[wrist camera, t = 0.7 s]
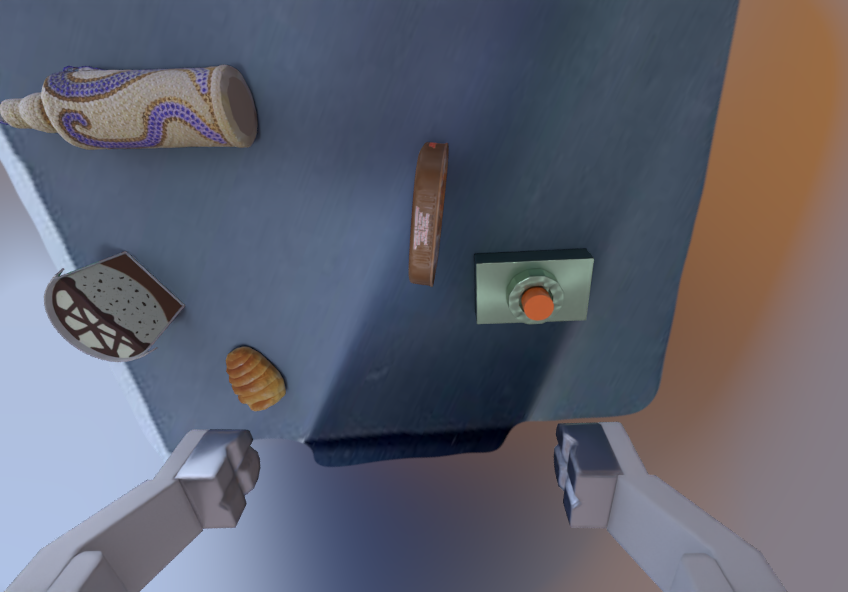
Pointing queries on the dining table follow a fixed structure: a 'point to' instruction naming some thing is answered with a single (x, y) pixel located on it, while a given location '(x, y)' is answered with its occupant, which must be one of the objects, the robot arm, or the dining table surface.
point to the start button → (537, 303)
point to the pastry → (254, 378)
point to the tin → (427, 212)
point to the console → (532, 284)
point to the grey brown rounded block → (110, 308)
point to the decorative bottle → (140, 108)
